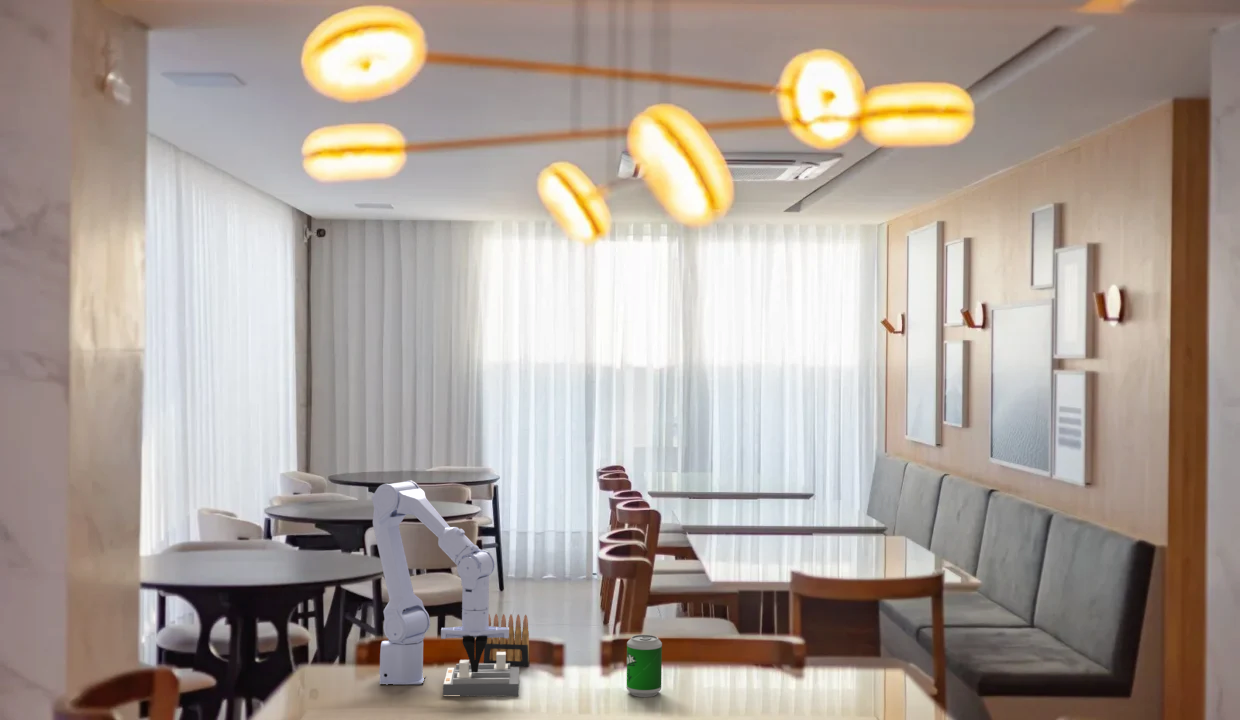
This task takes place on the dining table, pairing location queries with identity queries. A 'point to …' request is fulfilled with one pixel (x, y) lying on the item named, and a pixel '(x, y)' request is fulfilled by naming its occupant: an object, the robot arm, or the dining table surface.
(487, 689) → the switch bank
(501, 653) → the tab far
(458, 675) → the tab near
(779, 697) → the dining table surface
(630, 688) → the soda can
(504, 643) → the ammunition clip
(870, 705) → the dining table surface
